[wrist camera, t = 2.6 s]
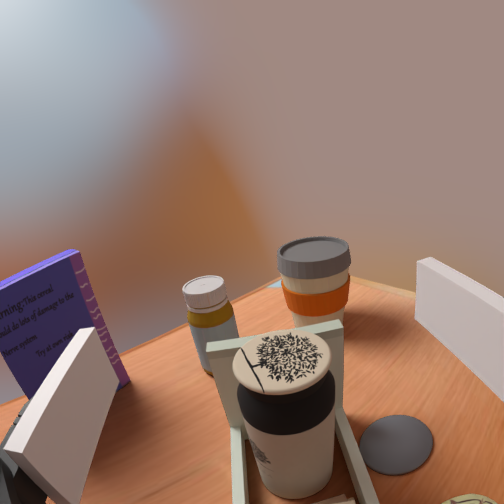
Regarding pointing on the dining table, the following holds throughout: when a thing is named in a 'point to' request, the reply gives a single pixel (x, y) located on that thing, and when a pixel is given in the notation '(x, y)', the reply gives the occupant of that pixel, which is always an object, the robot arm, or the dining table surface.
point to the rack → (227, 387)
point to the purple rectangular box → (49, 318)
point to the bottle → (209, 314)
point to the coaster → (396, 444)
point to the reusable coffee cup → (315, 278)
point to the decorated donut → (470, 500)
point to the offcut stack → (337, 500)
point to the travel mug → (288, 409)
